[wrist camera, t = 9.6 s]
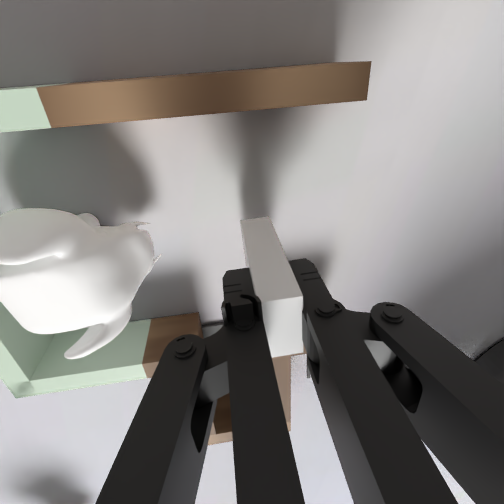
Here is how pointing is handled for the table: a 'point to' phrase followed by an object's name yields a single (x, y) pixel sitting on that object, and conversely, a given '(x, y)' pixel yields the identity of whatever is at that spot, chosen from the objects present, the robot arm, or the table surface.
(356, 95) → the walnut maze corridor
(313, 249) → the table surface
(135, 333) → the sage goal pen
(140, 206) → the table surface
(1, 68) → the table surface
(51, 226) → the elephant figurine
